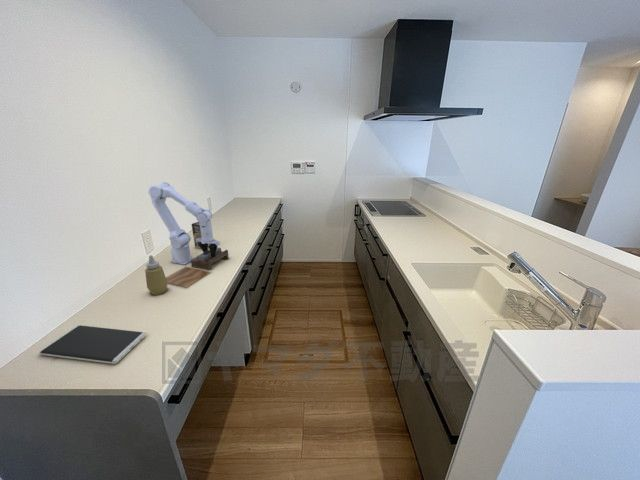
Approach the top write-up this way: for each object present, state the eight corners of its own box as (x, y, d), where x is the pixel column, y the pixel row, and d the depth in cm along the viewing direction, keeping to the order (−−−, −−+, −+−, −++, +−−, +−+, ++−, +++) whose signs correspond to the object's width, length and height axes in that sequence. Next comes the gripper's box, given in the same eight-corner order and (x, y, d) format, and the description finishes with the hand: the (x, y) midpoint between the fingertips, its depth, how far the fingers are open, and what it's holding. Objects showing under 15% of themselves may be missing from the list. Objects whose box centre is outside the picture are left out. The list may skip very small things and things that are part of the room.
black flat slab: (115, 365, 81) (114, 361, 80) (39, 355, 84) (37, 351, 83) (147, 335, 93) (146, 331, 93) (79, 328, 96) (77, 324, 95)
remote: (204, 261, 140) (203, 256, 139) (197, 260, 142) (196, 255, 141) (221, 251, 153) (220, 247, 152) (215, 250, 154) (214, 246, 153)
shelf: (191, 266, 143) (190, 257, 141) (212, 255, 158) (210, 246, 155) (209, 270, 140) (208, 260, 138) (228, 258, 154) (227, 249, 152)
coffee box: (194, 247, 167) (190, 223, 161) (202, 244, 173) (198, 221, 167) (205, 250, 164) (202, 225, 158) (213, 246, 170) (210, 223, 164)
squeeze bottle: (173, 288, 122) (165, 253, 116) (157, 298, 115) (149, 261, 109) (159, 285, 125) (152, 250, 118) (144, 294, 117) (135, 258, 111)
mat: (160, 281, 128) (160, 280, 128) (186, 267, 142) (185, 266, 142) (186, 287, 123) (186, 287, 123) (210, 272, 137) (210, 272, 137)
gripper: (190, 233, 141) (194, 256, 146) (212, 236, 136) (215, 260, 141) (200, 229, 147) (203, 251, 152) (221, 232, 143) (224, 255, 148)
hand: (209, 255), depth 147 cm, fingers closed on remote, 4 cm apart
